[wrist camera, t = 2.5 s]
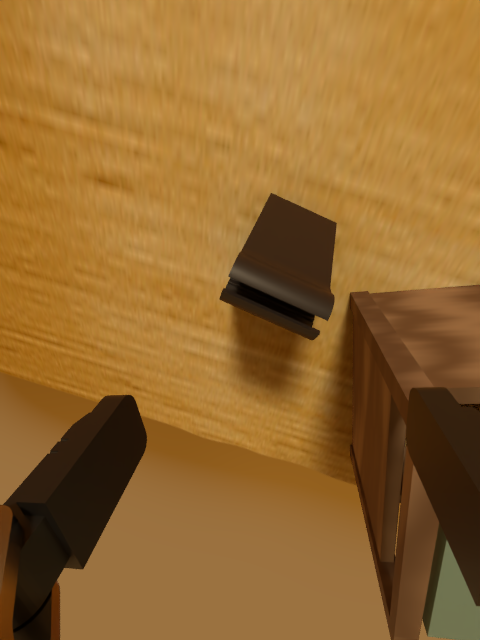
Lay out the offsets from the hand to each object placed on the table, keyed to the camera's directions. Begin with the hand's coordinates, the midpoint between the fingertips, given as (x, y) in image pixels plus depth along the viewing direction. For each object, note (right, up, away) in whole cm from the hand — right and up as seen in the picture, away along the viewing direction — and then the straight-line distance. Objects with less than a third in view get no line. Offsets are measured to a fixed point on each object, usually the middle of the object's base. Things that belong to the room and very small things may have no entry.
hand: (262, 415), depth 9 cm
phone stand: (+3, +9, +19) cm, 21 cm away
